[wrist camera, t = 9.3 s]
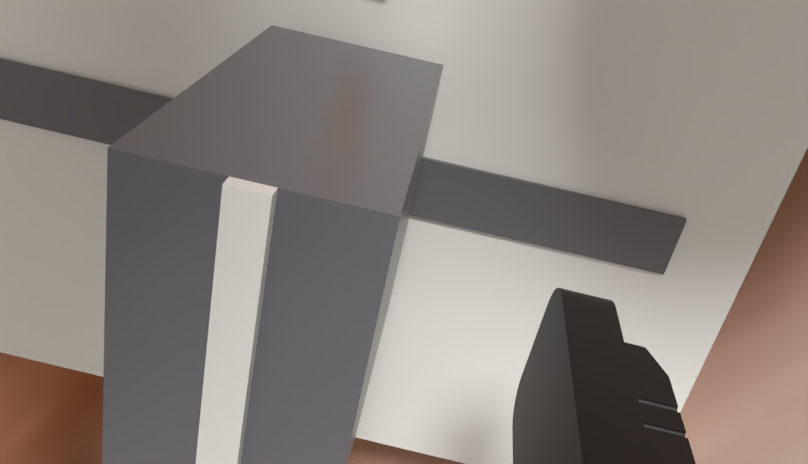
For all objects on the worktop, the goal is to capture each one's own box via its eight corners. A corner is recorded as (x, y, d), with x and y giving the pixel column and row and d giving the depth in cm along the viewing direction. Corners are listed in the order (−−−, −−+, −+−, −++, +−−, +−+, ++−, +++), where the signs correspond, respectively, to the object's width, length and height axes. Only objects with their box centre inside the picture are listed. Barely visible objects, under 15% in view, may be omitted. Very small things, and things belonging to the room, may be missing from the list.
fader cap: (271, 24, 13) (98, 155, 7) (443, 64, 13) (397, 224, 7) (242, 272, 15) (93, 512, 10) (388, 307, 15) (321, 566, 10)
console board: (-670, -458, 14) (-868, -511, 12) (871, -111, 13) (935, -103, 11) (-441, 190, 20) (-545, 227, 18) (624, 443, 19) (636, 511, 17)
